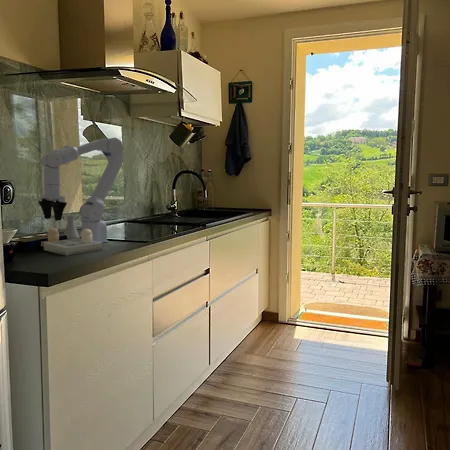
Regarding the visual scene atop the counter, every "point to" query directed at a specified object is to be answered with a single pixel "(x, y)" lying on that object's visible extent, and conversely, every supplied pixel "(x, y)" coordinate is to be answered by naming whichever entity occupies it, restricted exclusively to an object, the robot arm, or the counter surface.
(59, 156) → the robot arm
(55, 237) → the egg
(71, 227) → the flask
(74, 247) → the white square tray shape
